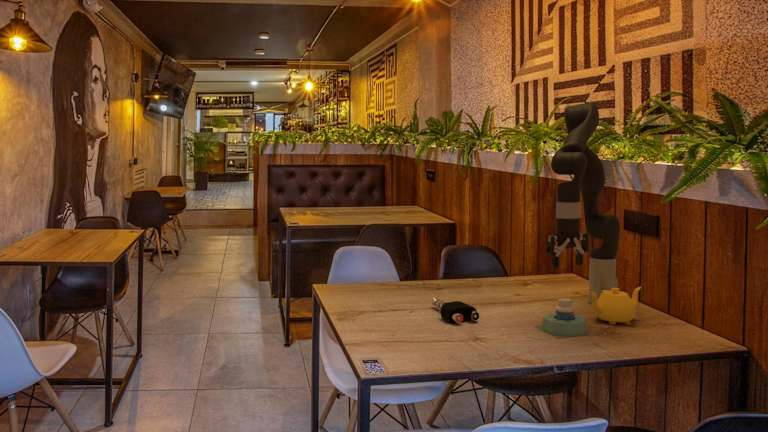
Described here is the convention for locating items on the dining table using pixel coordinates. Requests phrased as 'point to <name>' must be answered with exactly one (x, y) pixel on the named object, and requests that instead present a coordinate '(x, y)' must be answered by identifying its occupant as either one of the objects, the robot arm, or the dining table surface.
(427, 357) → the dining table surface
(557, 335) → the felt mat
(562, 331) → the green faceted planter
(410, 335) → the dining table surface
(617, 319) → the teapot
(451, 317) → the audio adapter
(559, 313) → the pill bottle
